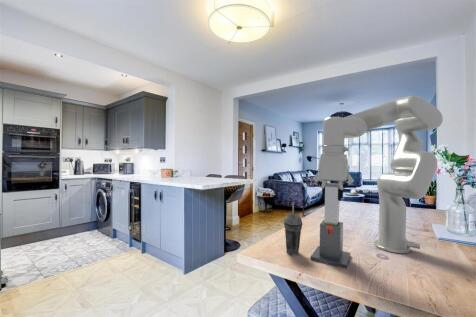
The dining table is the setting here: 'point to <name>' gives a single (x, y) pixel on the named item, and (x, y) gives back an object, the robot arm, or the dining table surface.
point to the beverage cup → (292, 232)
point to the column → (331, 204)
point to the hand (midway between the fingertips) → (332, 198)
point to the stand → (331, 246)
